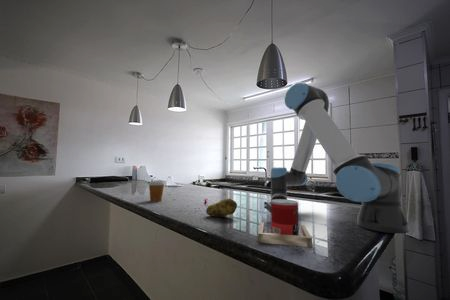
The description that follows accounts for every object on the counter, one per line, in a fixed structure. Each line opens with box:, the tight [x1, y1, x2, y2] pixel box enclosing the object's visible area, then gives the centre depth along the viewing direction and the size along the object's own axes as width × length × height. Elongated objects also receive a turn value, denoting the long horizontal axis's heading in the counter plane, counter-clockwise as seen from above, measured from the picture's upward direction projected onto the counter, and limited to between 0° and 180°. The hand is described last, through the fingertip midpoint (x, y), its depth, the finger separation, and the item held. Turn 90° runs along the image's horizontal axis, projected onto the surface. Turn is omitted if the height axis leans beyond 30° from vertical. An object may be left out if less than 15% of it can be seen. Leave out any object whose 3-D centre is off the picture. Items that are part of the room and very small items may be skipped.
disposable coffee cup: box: [148, 180, 165, 202], centre depth 126 cm, size 10×10×12 cm
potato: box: [205, 198, 238, 218], centre depth 88 cm, size 8×13×8 cm, turn 53°
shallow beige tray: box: [257, 221, 313, 248], centre depth 64 cm, size 14×13×2 cm
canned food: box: [270, 198, 299, 236], centre depth 64 cm, size 8×8×11 cm
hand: (281, 214), depth 68 cm, fingers closed
